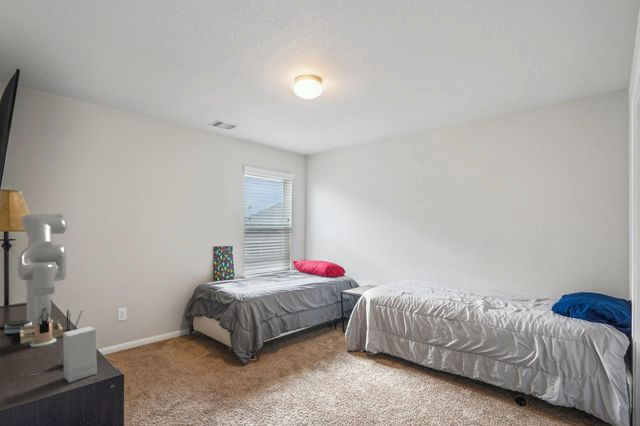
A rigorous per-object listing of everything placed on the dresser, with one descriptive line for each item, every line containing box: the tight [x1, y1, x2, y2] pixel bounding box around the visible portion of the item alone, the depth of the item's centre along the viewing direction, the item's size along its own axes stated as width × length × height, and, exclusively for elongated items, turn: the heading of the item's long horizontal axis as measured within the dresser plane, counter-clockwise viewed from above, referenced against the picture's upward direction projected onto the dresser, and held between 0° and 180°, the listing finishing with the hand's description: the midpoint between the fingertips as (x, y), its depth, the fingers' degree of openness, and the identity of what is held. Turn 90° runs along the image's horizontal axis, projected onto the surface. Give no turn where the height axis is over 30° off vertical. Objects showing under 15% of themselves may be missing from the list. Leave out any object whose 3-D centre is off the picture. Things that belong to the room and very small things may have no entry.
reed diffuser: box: [58, 309, 83, 366], centre depth 125 cm, size 10×7×20 cm
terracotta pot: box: [35, 318, 53, 344], centre depth 149 cm, size 6×6×12 cm
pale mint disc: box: [29, 337, 57, 348], centre depth 148 cm, size 9×9×1 cm
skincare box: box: [62, 326, 98, 383], centre depth 114 cm, size 8×7×16 cm
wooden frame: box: [19, 320, 64, 345], centre depth 159 cm, size 16×15×4 cm
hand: (43, 330), depth 149 cm, fingers open, 9 cm apart
